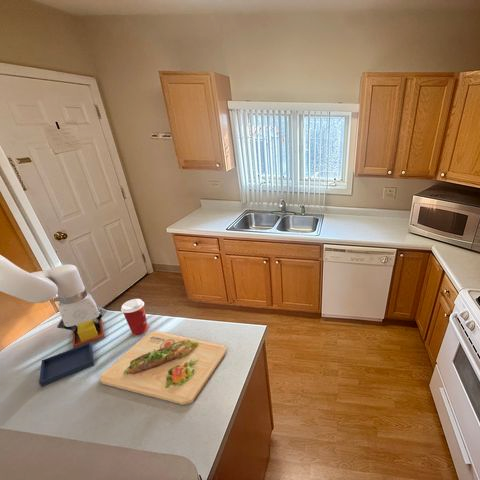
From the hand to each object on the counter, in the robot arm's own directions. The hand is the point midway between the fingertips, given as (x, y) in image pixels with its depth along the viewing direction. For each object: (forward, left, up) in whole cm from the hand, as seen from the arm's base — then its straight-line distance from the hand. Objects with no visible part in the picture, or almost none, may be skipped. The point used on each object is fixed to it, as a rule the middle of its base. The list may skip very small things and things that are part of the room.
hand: (88, 332), depth 103 cm
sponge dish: (0, 0, -1) cm, 1 cm away
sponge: (0, 0, -1) cm, 1 cm away
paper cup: (+16, -10, -1) cm, 19 cm away
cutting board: (+21, -36, -1) cm, 41 cm away
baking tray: (-6, -14, -1) cm, 15 cm away
